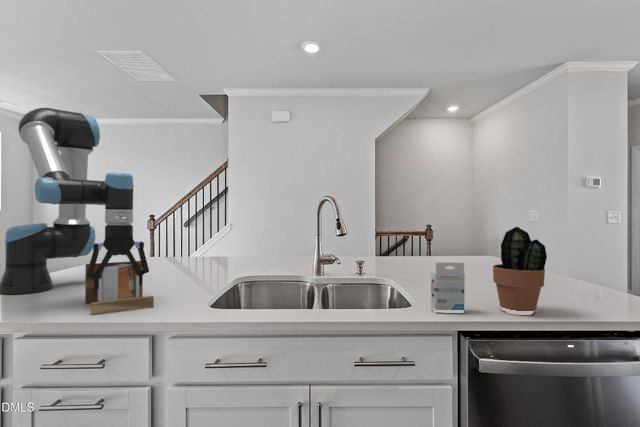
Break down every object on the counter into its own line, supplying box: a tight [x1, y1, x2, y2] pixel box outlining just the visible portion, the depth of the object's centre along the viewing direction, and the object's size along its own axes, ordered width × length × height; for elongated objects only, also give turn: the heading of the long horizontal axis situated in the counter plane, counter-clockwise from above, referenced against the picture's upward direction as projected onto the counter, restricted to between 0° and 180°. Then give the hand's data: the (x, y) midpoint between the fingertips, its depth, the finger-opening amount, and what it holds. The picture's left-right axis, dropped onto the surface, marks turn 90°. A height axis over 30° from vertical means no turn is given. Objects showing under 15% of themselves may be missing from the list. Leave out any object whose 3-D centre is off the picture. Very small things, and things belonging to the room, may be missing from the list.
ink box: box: [430, 261, 466, 311], centre depth 114 cm, size 8×5×15 cm, turn 90°
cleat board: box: [84, 260, 155, 316], centre depth 118 cm, size 17×16×12 cm
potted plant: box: [492, 226, 548, 311], centre depth 114 cm, size 14×14×25 cm
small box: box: [102, 264, 135, 301], centre depth 118 cm, size 8×6×10 cm
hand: (118, 298), depth 118 cm, fingers closed on small box, 9 cm apart
